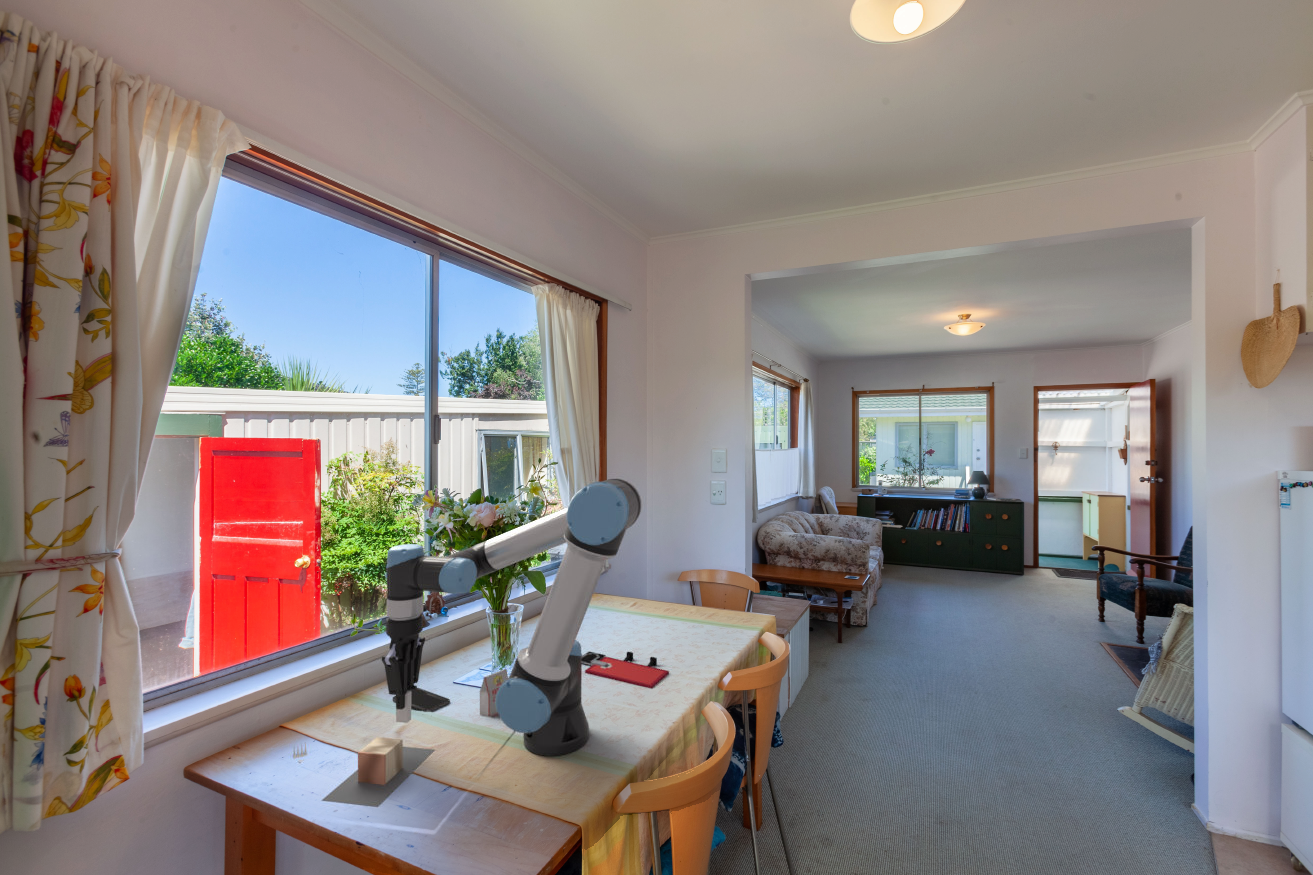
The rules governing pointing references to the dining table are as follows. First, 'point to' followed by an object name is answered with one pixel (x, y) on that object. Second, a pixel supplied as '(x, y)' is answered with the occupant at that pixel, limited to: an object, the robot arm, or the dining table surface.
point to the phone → (426, 701)
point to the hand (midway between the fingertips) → (403, 720)
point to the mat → (377, 793)
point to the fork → (301, 753)
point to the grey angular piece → (491, 692)
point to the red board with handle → (624, 669)
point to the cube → (380, 760)
